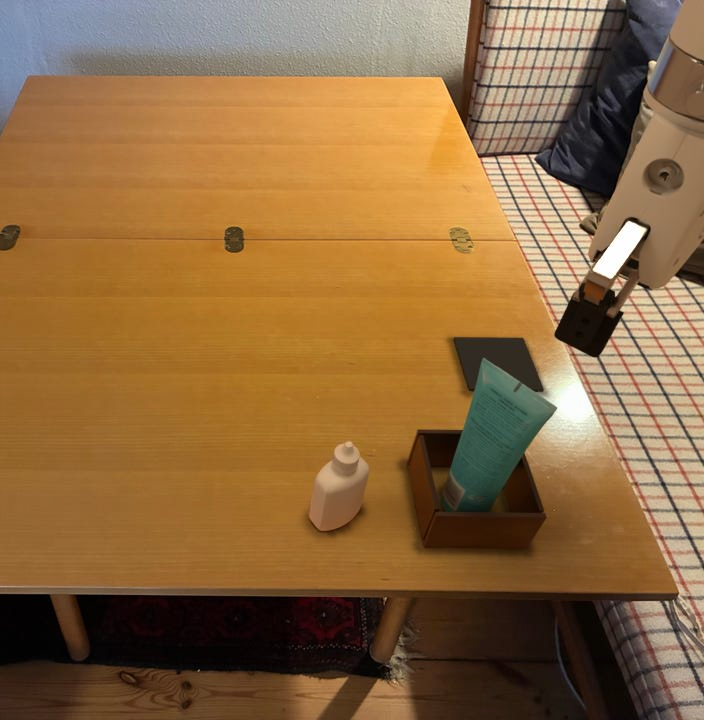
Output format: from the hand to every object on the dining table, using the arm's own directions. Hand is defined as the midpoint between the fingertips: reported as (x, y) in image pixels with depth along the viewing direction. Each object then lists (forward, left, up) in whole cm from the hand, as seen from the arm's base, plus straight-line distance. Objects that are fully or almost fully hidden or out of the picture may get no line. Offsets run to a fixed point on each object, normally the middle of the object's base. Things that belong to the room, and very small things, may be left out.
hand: (605, 311), depth 51 cm
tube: (+3, 0, -30) cm, 30 cm away
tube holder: (+3, 0, -30) cm, 30 cm away
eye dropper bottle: (+13, +11, -30) cm, 34 cm away
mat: (+11, -21, -30) cm, 38 cm away
